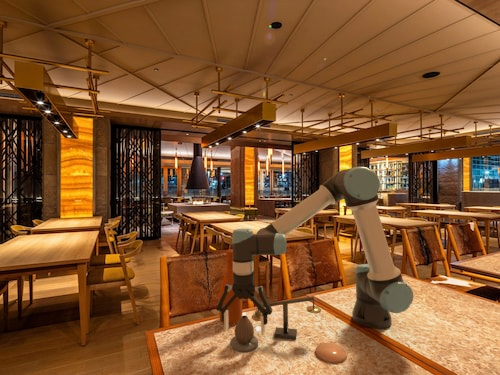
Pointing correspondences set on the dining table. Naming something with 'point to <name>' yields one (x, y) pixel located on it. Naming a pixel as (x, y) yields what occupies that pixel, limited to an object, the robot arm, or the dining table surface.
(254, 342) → the dish
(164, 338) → the dining table surface
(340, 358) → the dish
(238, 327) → the vase
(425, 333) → the dining table surface
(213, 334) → the dining table surface
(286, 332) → the balance
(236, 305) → the wine bottle
